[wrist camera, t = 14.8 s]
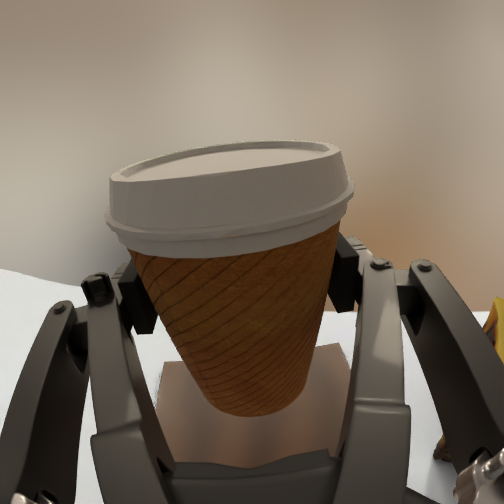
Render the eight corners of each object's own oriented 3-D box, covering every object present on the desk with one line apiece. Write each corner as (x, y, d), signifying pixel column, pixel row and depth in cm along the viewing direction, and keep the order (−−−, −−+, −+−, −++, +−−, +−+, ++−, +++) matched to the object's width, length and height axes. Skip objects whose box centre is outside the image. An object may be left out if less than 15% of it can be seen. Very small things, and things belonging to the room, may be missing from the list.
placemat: (145, 531, 12) (140, 529, 11) (166, 366, 28) (164, 361, 27) (397, 504, 12) (400, 502, 12) (338, 347, 28) (339, 342, 28)
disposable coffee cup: (152, 433, 12) (41, 205, 7) (194, 320, 21) (158, 152, 15) (343, 442, 11) (399, 171, 6) (327, 319, 19) (330, 136, 14)
